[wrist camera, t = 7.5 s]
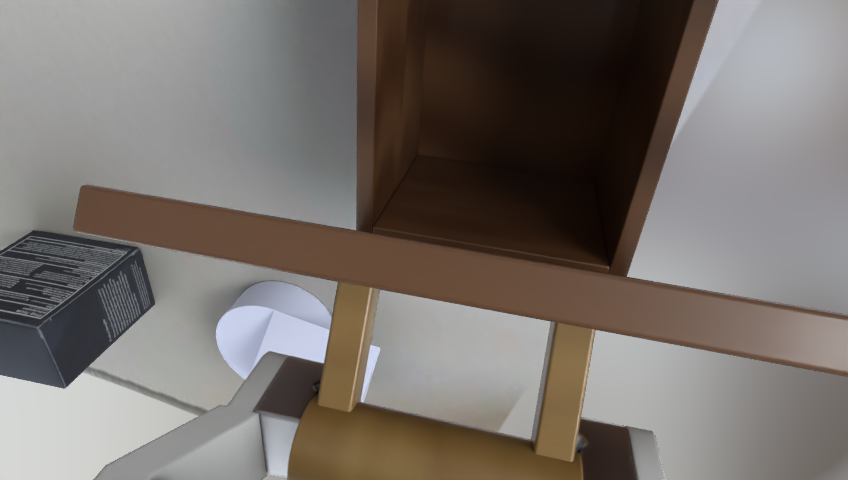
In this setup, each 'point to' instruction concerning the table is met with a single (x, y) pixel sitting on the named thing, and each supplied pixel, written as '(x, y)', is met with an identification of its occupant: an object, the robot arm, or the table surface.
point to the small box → (66, 304)
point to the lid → (472, 286)
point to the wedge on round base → (278, 328)
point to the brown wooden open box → (521, 121)
